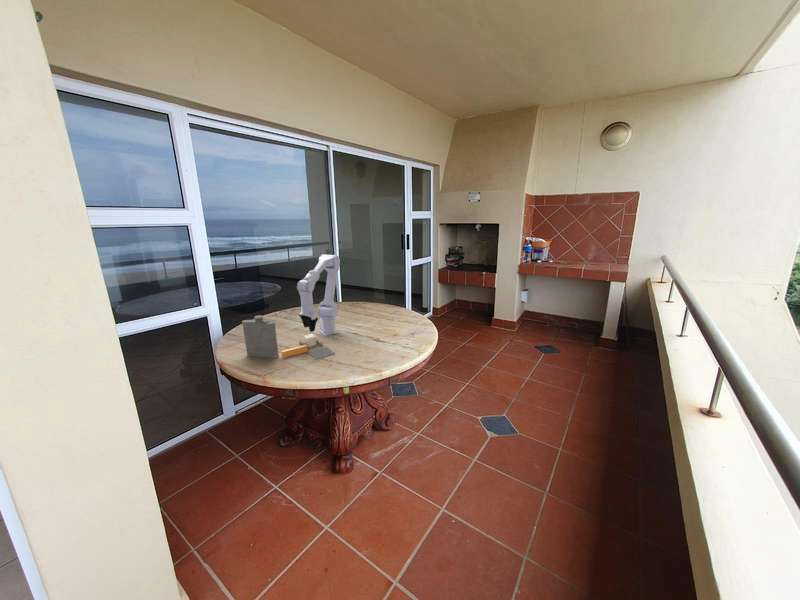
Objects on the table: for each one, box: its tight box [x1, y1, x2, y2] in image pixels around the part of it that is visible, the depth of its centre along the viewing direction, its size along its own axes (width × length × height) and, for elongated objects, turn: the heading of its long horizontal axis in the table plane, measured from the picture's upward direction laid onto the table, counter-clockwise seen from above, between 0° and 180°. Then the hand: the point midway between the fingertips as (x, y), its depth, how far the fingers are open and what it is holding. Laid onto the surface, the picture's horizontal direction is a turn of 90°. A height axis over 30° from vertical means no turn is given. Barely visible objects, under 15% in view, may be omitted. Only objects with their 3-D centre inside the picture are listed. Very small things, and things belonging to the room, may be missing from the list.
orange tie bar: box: [281, 345, 309, 359], centre depth 155 cm, size 2×12×3 cm, turn 127°
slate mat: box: [307, 346, 336, 361], centre depth 156 cm, size 10×10×1 cm
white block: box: [303, 333, 318, 348], centre depth 165 cm, size 4×4×5 cm
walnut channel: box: [298, 337, 323, 350], centre depth 166 cm, size 10×8×2 cm
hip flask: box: [241, 314, 279, 359], centre depth 151 cm, size 16×4×20 cm, turn 80°
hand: (309, 329), depth 164 cm, fingers open, 7 cm apart
